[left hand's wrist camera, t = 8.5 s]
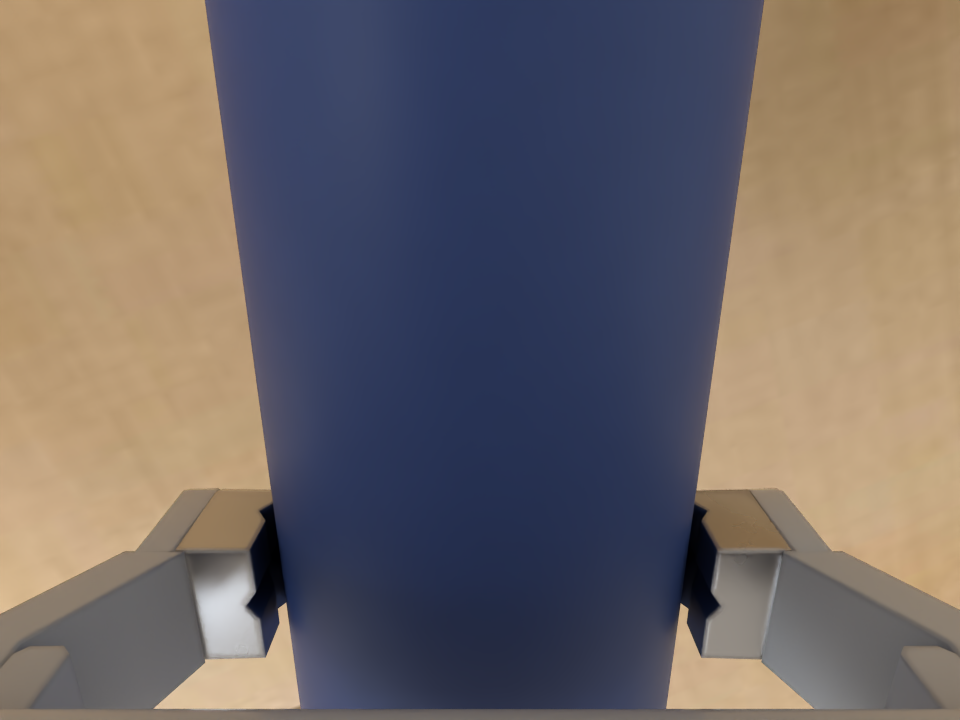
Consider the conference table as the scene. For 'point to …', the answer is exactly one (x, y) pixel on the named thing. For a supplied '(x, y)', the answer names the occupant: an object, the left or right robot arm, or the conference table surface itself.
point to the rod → (483, 329)
